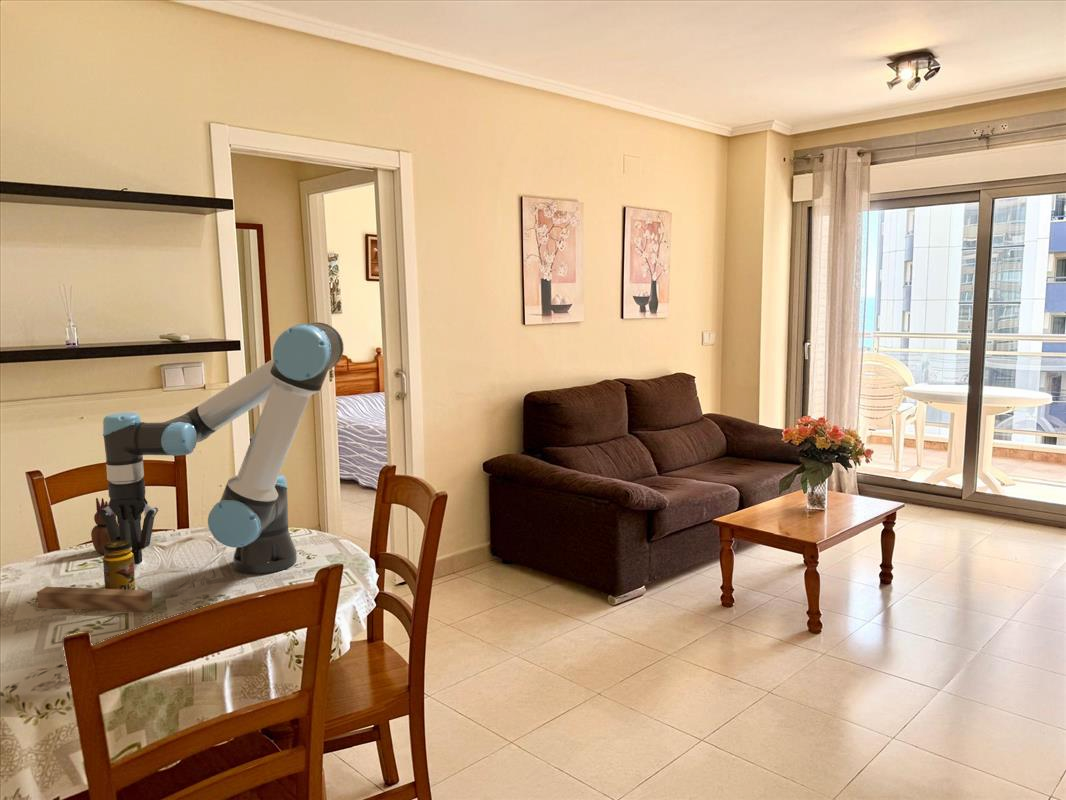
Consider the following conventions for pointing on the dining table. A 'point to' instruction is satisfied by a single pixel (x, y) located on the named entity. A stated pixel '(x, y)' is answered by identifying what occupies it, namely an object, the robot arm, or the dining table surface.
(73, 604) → the board
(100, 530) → the wooden figurine
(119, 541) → the condiment
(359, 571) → the dining table surface
